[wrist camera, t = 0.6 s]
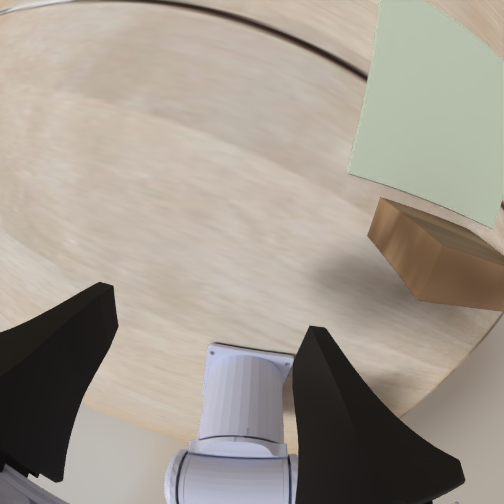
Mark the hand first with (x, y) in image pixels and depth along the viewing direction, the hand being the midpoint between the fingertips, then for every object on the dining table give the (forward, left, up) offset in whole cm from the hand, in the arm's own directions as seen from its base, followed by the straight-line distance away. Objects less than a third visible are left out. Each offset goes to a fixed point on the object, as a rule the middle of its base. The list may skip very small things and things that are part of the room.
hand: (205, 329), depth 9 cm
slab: (+3, -15, -10) cm, 18 cm away
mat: (+13, -15, -10) cm, 22 cm away
